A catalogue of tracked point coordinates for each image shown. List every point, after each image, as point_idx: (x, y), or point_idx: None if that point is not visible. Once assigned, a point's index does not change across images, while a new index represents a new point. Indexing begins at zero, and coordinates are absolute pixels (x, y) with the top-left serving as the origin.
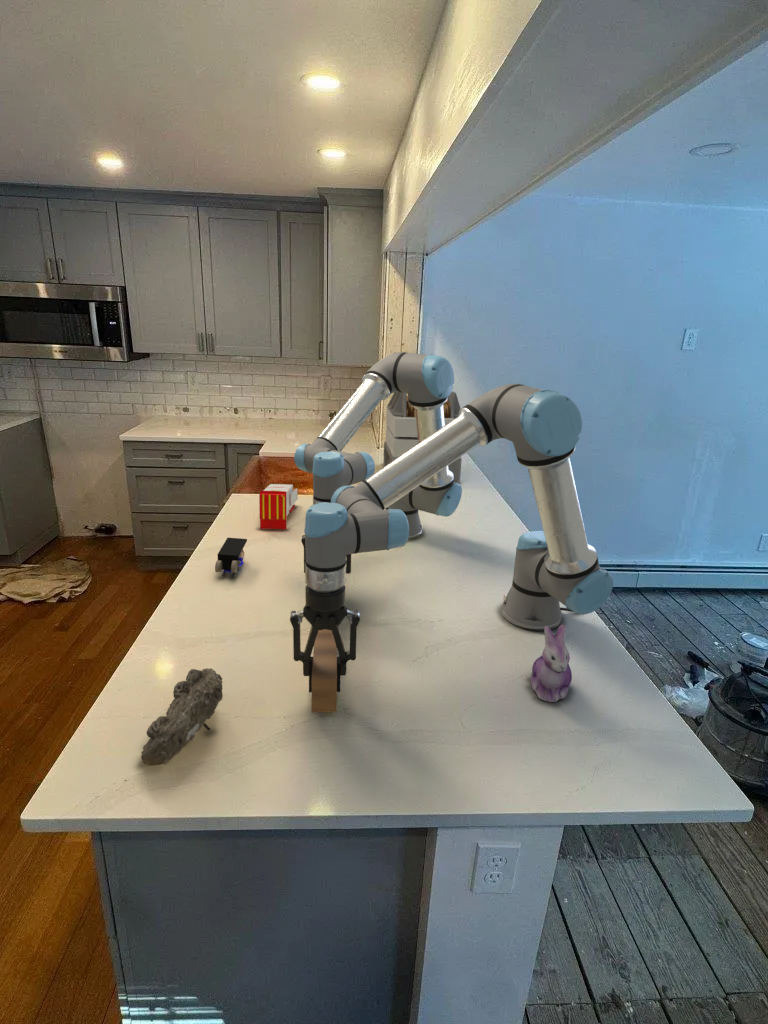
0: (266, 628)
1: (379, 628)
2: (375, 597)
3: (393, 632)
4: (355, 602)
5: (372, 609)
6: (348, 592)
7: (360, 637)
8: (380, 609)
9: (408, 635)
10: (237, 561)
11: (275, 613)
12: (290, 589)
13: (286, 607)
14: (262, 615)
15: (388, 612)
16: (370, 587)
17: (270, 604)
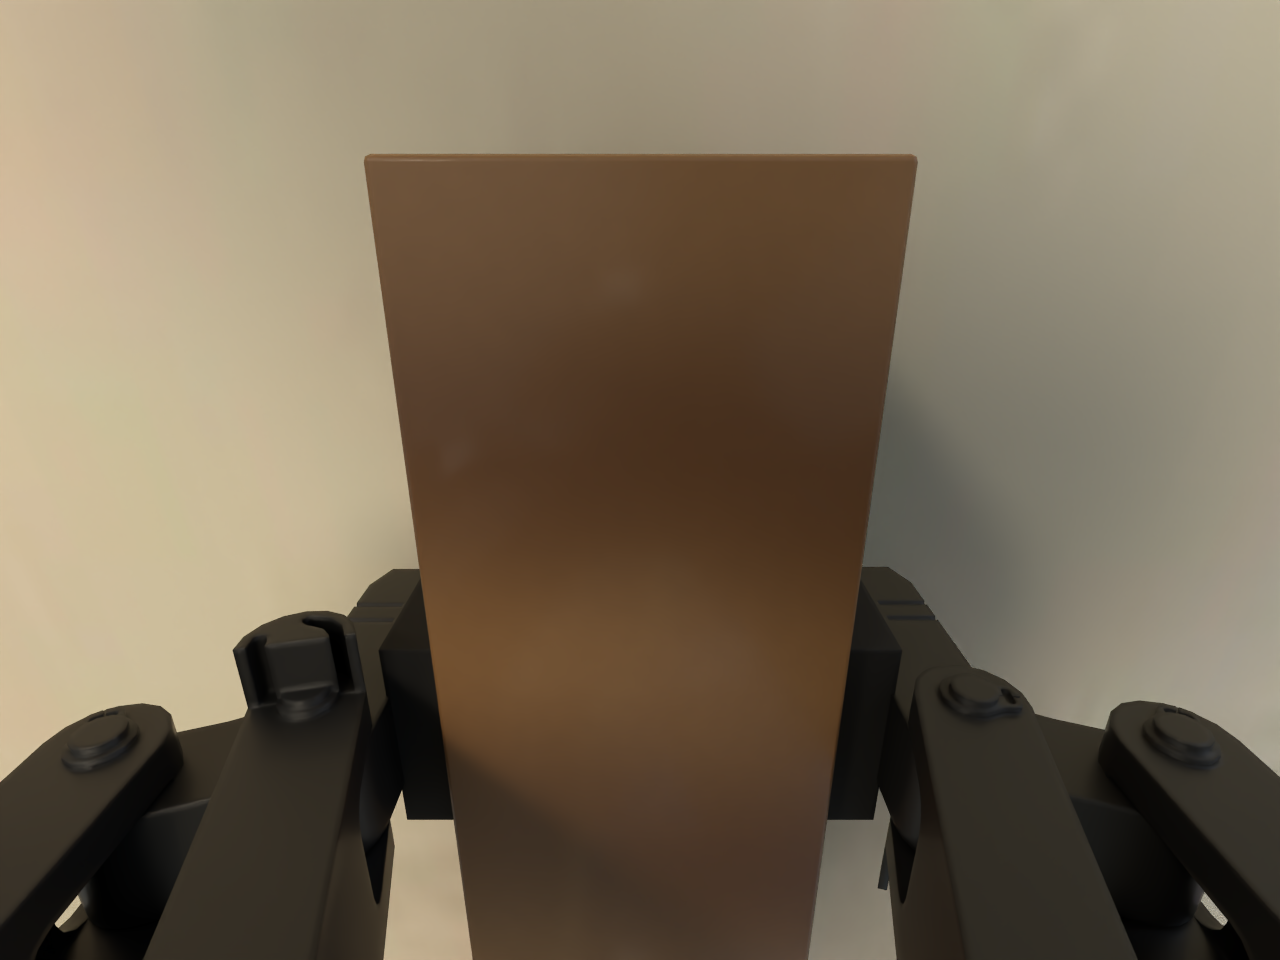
0: None
1: None
2: (1223, 340)
3: None
4: (954, 456)
5: (1096, 592)
6: (917, 201)
7: (885, 939)
8: (1177, 592)
9: None
10: None
11: (154, 653)
12: (123, 106)
13: (223, 553)
14: (49, 683)
15: (1233, 643)
16: (1267, 34)
17: (32, 495)
